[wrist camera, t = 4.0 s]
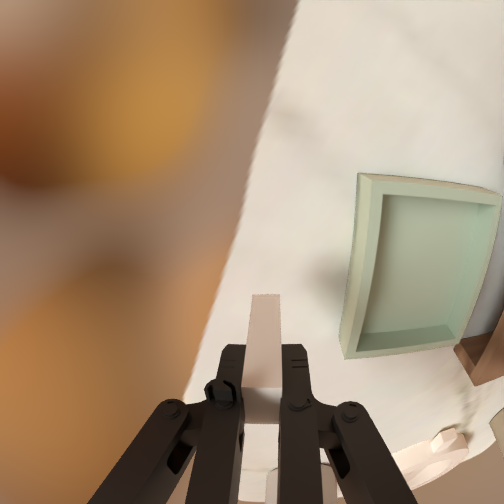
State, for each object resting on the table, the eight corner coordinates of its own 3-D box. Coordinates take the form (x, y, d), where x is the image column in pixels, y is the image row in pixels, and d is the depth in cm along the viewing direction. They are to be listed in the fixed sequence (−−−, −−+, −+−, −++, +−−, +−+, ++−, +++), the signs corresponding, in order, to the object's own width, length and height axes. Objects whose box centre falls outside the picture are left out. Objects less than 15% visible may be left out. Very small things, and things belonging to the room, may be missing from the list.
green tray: (357, 173, 17) (371, 180, 15) (481, 187, 16) (502, 196, 14) (338, 336, 23) (344, 359, 20) (446, 325, 22) (458, 343, 19)
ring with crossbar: (378, 489, 47) (380, 502, 42) (322, 479, 40) (323, 497, 36) (470, 442, 37) (475, 455, 33) (449, 419, 31) (457, 439, 26)
